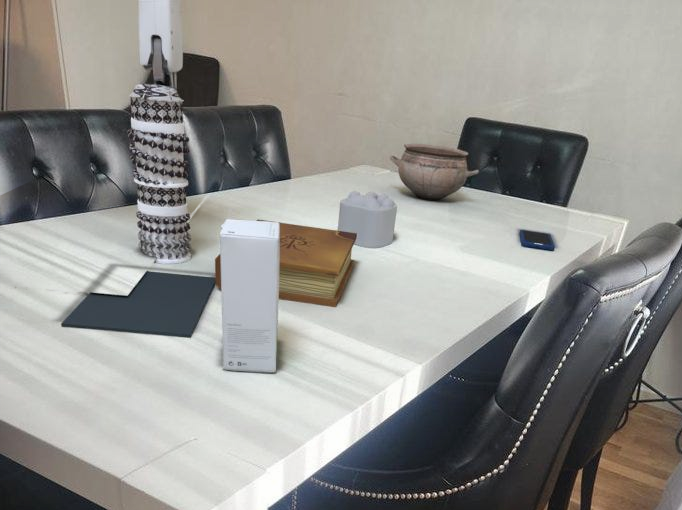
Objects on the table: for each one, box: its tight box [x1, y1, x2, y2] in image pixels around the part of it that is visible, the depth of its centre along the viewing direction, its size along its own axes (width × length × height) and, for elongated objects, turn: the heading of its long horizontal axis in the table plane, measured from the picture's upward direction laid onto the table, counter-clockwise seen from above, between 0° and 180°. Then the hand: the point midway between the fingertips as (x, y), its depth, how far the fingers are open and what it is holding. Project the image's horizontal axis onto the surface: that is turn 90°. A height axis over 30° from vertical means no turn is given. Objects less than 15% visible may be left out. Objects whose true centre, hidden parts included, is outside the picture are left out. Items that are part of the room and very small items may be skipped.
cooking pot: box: [389, 143, 480, 201], centre depth 177 cm, size 25×19×12 cm
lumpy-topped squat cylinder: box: [337, 190, 398, 249], centre depth 133 cm, size 10×13×9 cm
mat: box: [60, 270, 216, 338], centre depth 92 cm, size 16×24×1 cm, turn 2°
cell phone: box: [519, 229, 556, 251], centre depth 149 cm, size 7×14×1 cm, turn 171°
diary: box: [214, 219, 357, 308], centre depth 107 cm, size 23×19×6 cm
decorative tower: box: [126, 83, 192, 265], centre depth 103 cm, size 9×9×25 cm
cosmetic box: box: [219, 218, 280, 373], centre depth 75 cm, size 8×7×16 cm
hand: (167, 122), depth 105 cm, fingers closed
